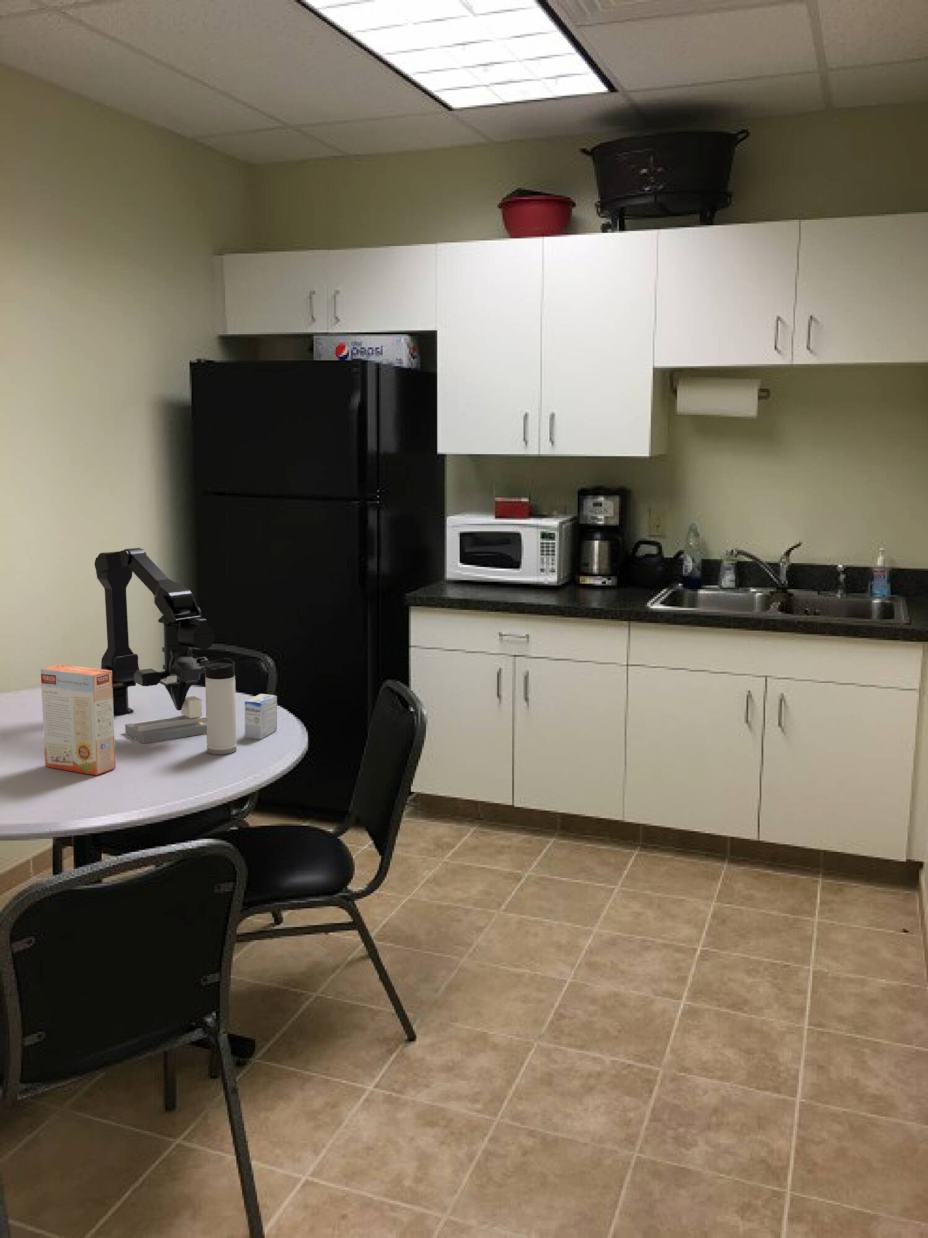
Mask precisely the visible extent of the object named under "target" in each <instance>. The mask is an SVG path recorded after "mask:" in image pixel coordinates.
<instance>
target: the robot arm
mask: <svg viewBox="0 0 928 1238" xmlns="http://www.w3.org/2000/svg"><path fill="white" fill-rule="evenodd" d="M94 568H95V572H96V573H95V574H96V579H97V580H98V582H99V583H100V584H101V586H102V587H103V589H104V603H105V619H106V620H105V624H106V637H107V638H106V639H107V648H106V650H105V652H104V654H103V655H102V657H101V661H100V662H101V663H100V665H101V666H100V669H103V670H111V671H112V687H113V713H114V716H115V715H116V716H117V715H124V714H129V713H130V714H131V713H134V712H135V711H134V710H135V709H132V708H131V707H129V687H136V685H137V684H138V685H140V686H141V687H152V686H157V685H158V684H161V685H163V686H164V687H165V689H166V691H167V693H168V694H169V696H170V699H171V701H172V702H173V705H174V707H175V710H176V711H181V709H182V706H183V703H184V700H185V697H186V696H188V695H187V694H188V692H189V690H190V688H191V687H192V686H193V685H194V684H197V683H198V681H200V679H201V676H202V675H204V676H206V672H205V665H206V664H207V663H208V662H209V659H208V658H207V657H206V656H202V657H197V658H194V653H193V649H197V650H201V651H202V650H203V651H206V650H207V649H210V647H212V645H213V643H214V642H215V639H216V638H215V637H216V635H215V634H216V633H215V632H214V629H213V628H212V627H211V625H209V624H208V620H207V619H206V618H203V615H202V611H201V609H200V607H199V606H198V603H197V601H196V599H195V598H194V595H193V593H192V592H191V590H190V589H188V588H187V587H186V586H185V585H183V584H182V583H178V582H176V581H173V580H171V579H170V578H169V577H168V576H167V575H166V574H165V573H164V572H163V571H162V570H161V569H160V568H159V567H158V566H157V565H156V564H155V562H153V560H152V559H151V558H150V557H149V556H148V555H147V552H146V551H145V549H143V548H141V547H133V548H125V549H122V550H120V551H118V550H117V551H106V552H100V553H98V556H97V557H95V560H94ZM133 574H134V575H135V576H136V577H137V578H138V579H139V580H140V581H141V582H142V584H143V585H144V586H145V587H146V588H147V589H148V590H149V591H150V592H151V593H152V595H153V600H154V601H153V603H154V605H155V606H156V608H157V610H159V611H160V614H162V616H161V617H159V619H158V620H157V622H158V623H160V624H163V647H162V648H161V650H162V653H164V654H163V655H164V657H163V658H164V664H162V669H163V670H162V671H157V670H155V669H153V668H145V669H142V668H141V669H140V667H139V666H140V665H139V655H138V654H137V653H134V652H133V651H132V648H130V643H129V642H130V641H129V637H130V636H129V622H128V618H129V617H128V603H127V602H128V601H127V600H128V599H127V587H128V585H129V584H130V582H131V580H132V578H133Z"/></svg>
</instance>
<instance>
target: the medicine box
mask: <svg viewBox="0 0 928 1238" xmlns="http://www.w3.org/2000/svg"><path fill="white" fill-rule="evenodd" d="M277 730H278V696H277V695H275V694H266V693H259V694H257V695H255V696H253V697H252V698H250V699H247V700H245V701H244V738H246V739H252V738H254V740H263V739H264V738H266V737H268V736H269V735H272V734H273V733H275V732H277Z"/></svg>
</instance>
